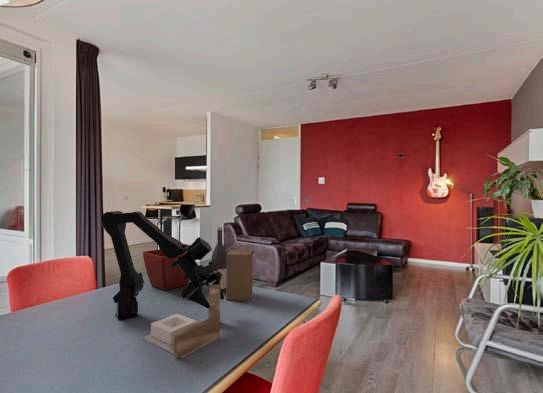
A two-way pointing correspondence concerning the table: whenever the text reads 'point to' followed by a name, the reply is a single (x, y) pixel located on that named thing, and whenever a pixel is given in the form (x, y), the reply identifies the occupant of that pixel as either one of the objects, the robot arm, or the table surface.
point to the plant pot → (163, 270)
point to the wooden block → (239, 275)
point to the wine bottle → (220, 258)
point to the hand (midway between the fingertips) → (216, 303)
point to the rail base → (190, 338)
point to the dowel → (214, 301)
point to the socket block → (170, 327)
